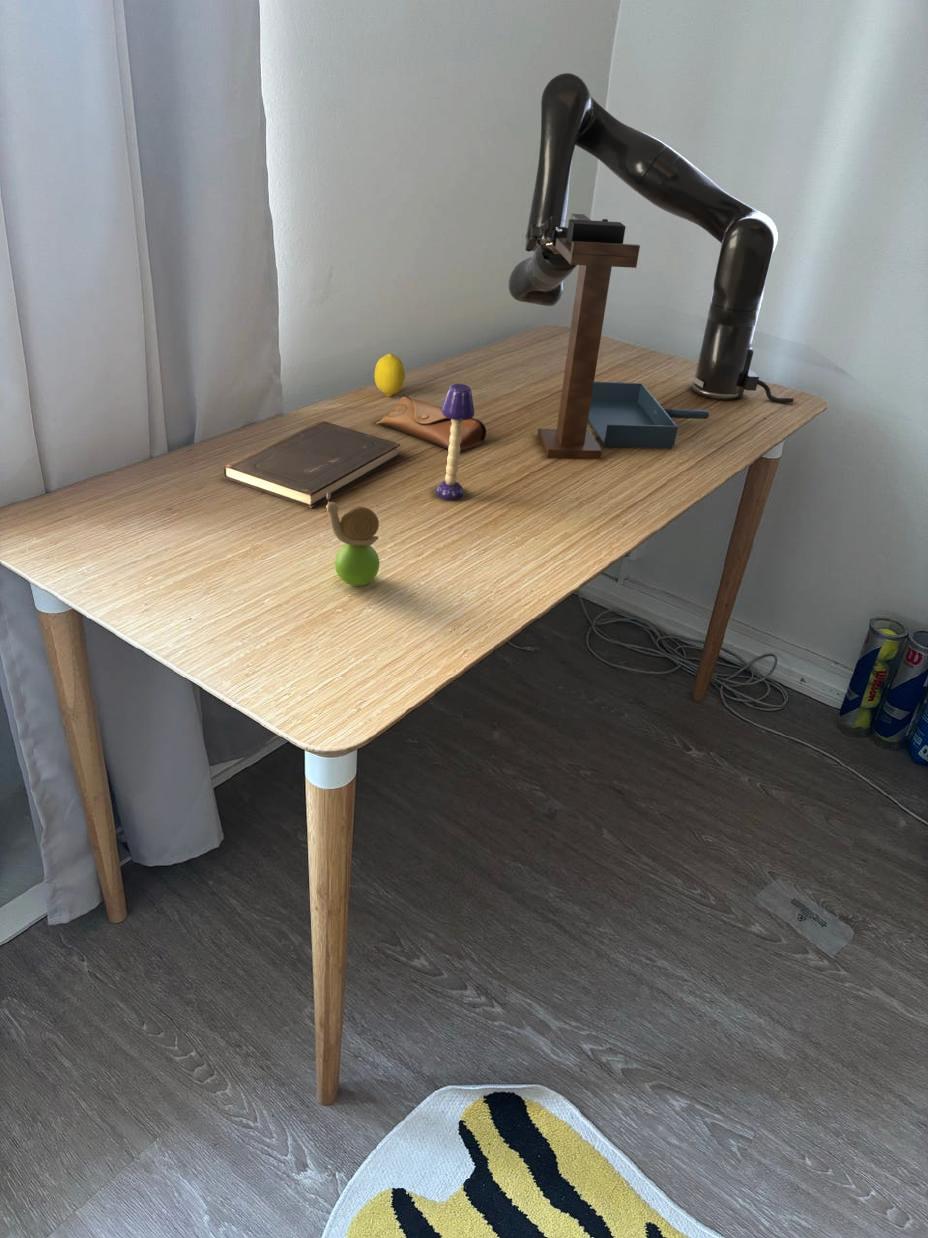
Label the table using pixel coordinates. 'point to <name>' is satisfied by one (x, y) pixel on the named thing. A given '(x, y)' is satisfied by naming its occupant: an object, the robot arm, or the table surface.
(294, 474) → the hardcover book
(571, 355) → the stand
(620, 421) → the scoop
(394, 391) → the lemon
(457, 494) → the toy lamp
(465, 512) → the table surface
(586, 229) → the t-shaped mallet
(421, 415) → the sunglasses case
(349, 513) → the snail figurine
